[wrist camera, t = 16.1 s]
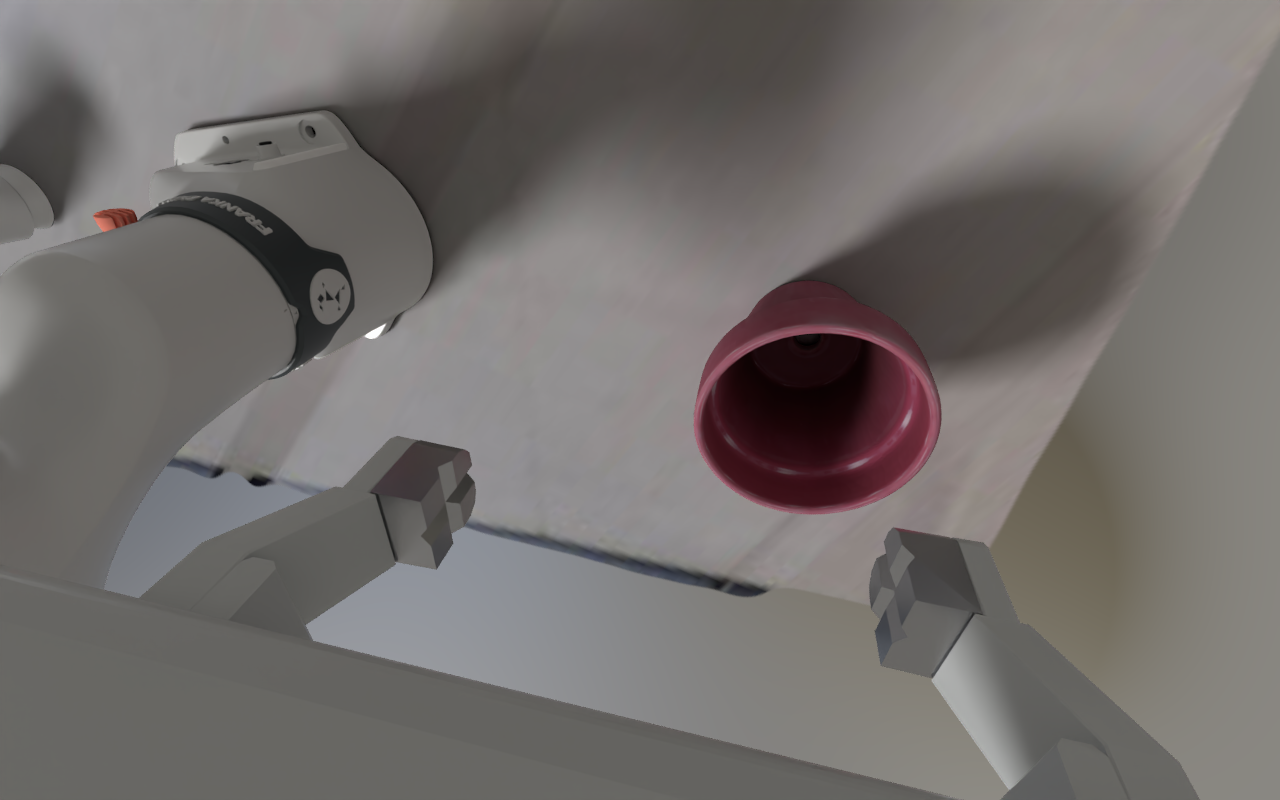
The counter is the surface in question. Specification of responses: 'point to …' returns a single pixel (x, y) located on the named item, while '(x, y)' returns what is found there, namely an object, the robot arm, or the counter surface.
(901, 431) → the plant pot
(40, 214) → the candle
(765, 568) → the counter surface
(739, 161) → the counter surface
